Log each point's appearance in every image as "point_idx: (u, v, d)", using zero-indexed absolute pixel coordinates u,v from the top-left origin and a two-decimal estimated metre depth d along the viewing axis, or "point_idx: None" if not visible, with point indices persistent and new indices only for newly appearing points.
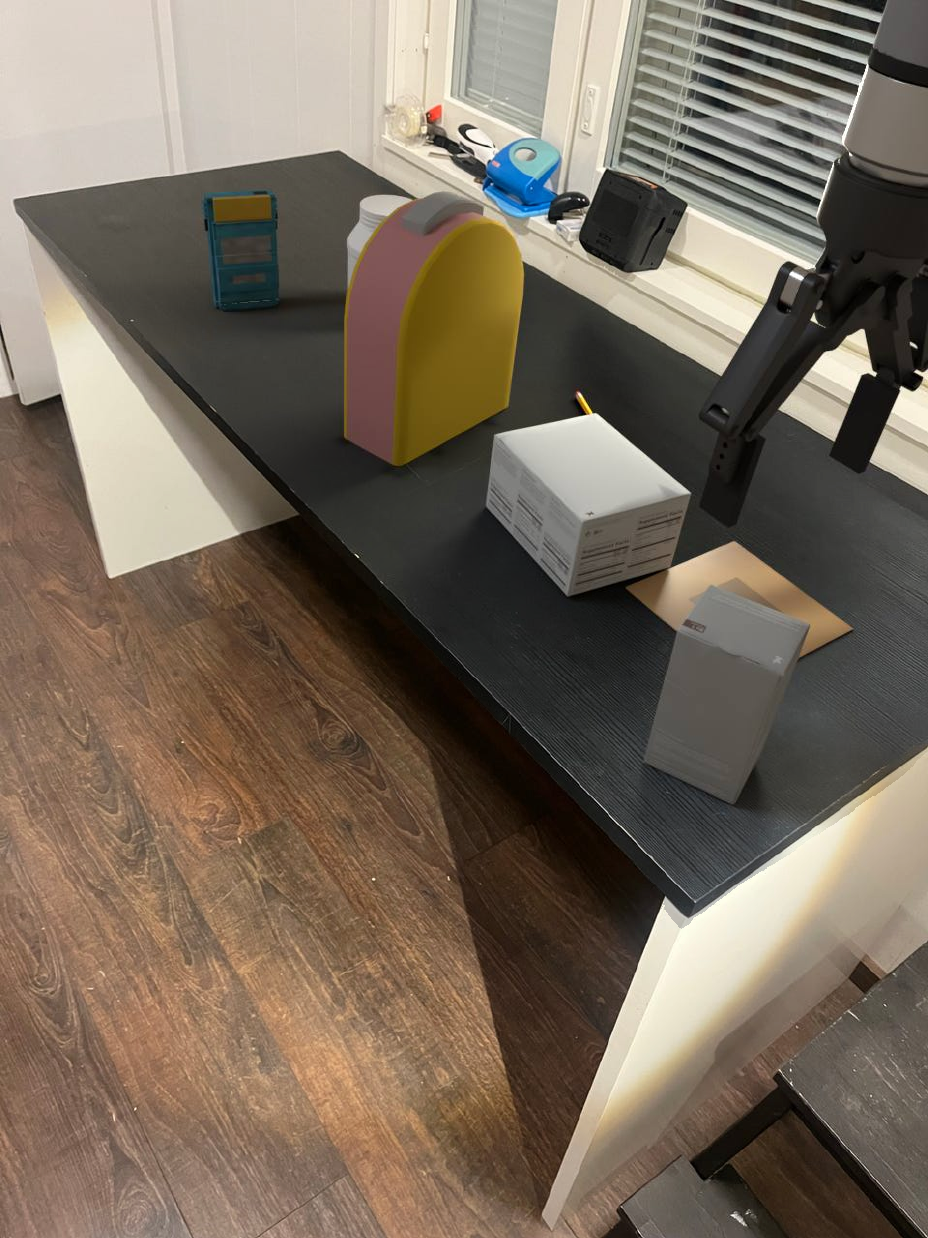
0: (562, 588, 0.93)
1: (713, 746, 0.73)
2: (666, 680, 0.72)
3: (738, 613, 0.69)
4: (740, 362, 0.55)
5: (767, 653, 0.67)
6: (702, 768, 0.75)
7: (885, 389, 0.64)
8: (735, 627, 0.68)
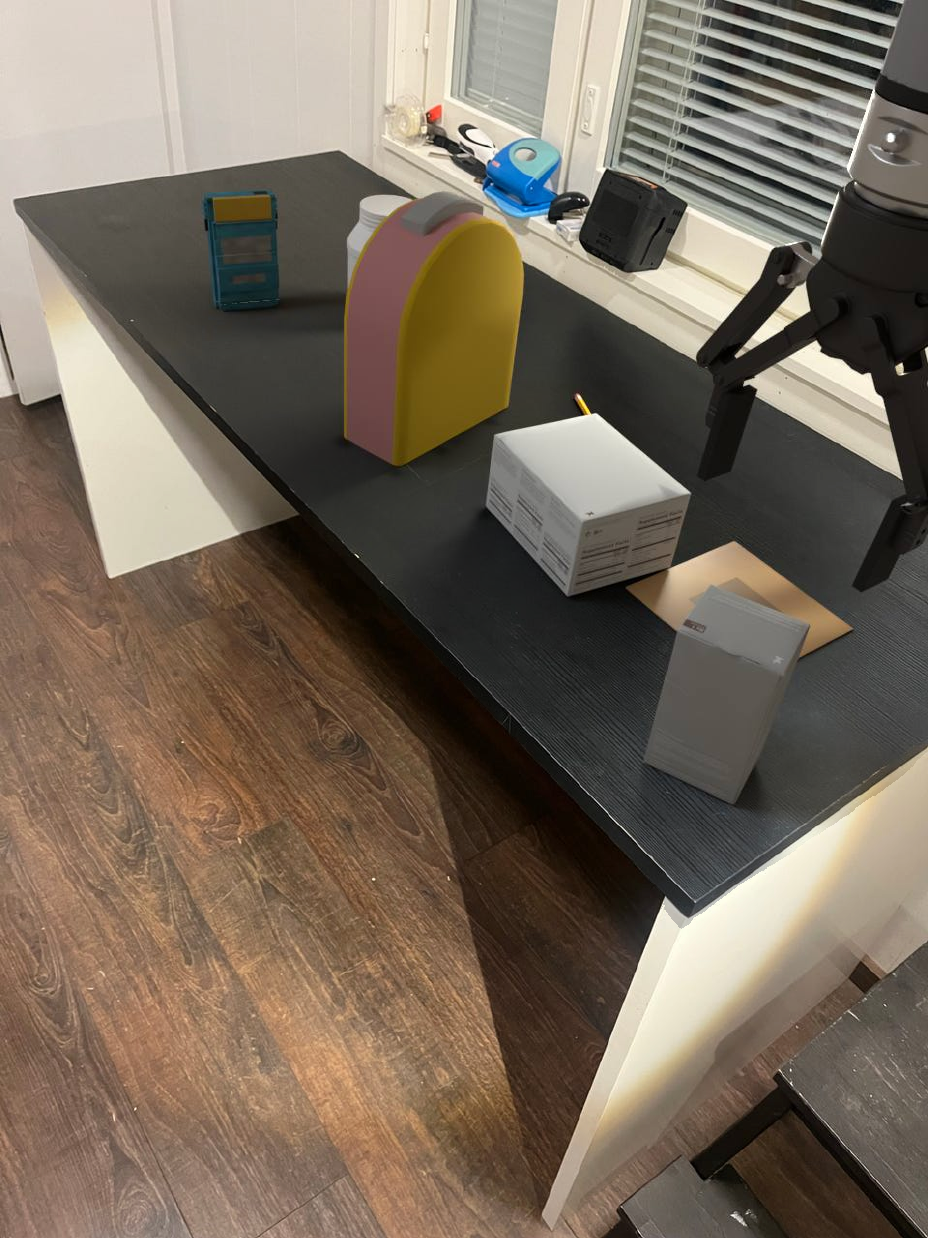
0: (562, 588, 0.93)
1: (713, 746, 0.73)
2: (666, 680, 0.72)
3: (738, 613, 0.69)
4: None
5: (767, 653, 0.67)
6: (702, 768, 0.75)
7: (750, 392, 0.63)
8: (736, 628, 0.68)
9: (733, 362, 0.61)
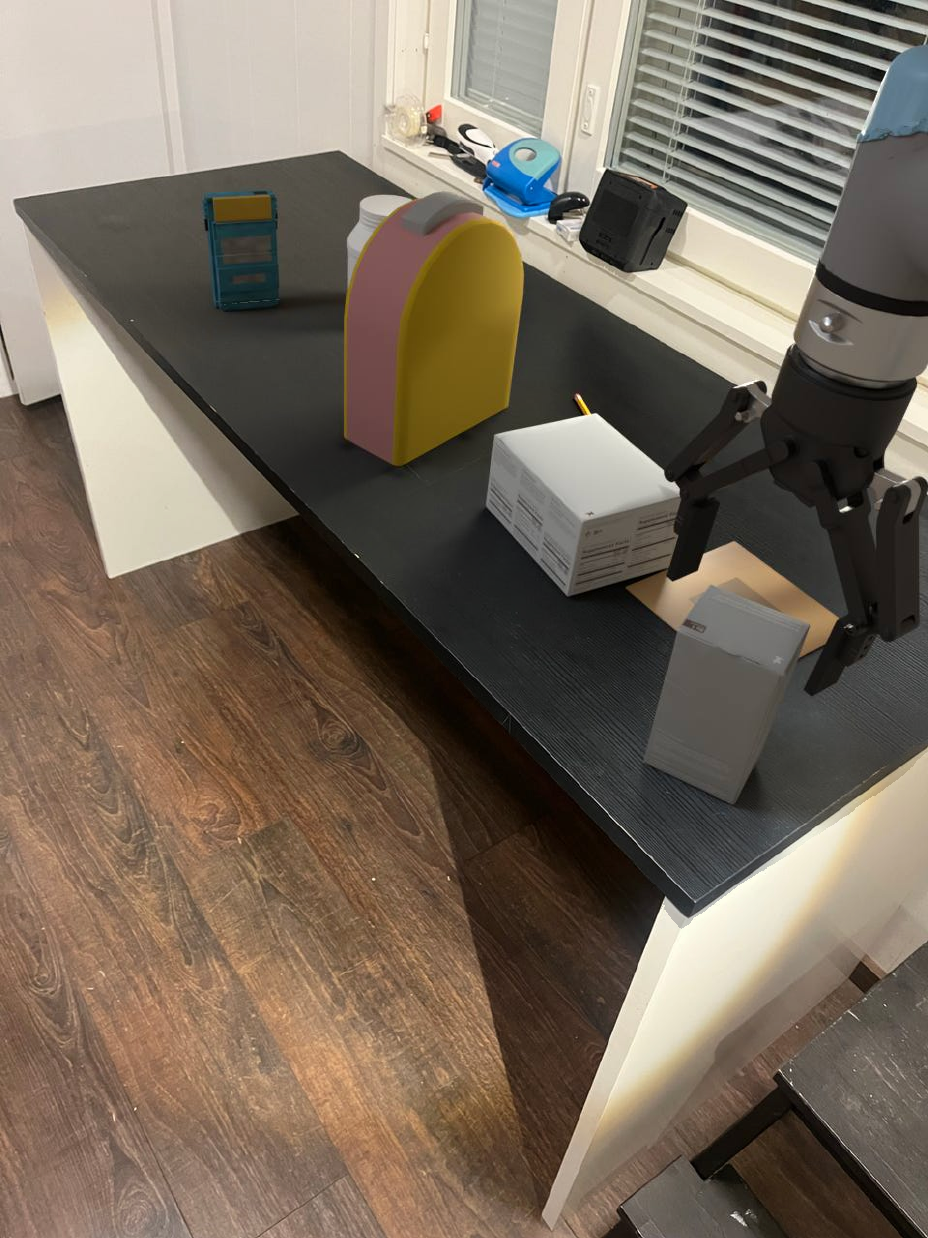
0: (562, 588, 0.93)
1: (713, 746, 0.73)
2: (666, 680, 0.72)
3: (738, 613, 0.69)
4: (901, 579, 0.56)
5: (767, 653, 0.67)
6: (702, 768, 0.75)
7: (714, 505, 0.69)
8: (736, 628, 0.68)
9: (697, 481, 0.67)
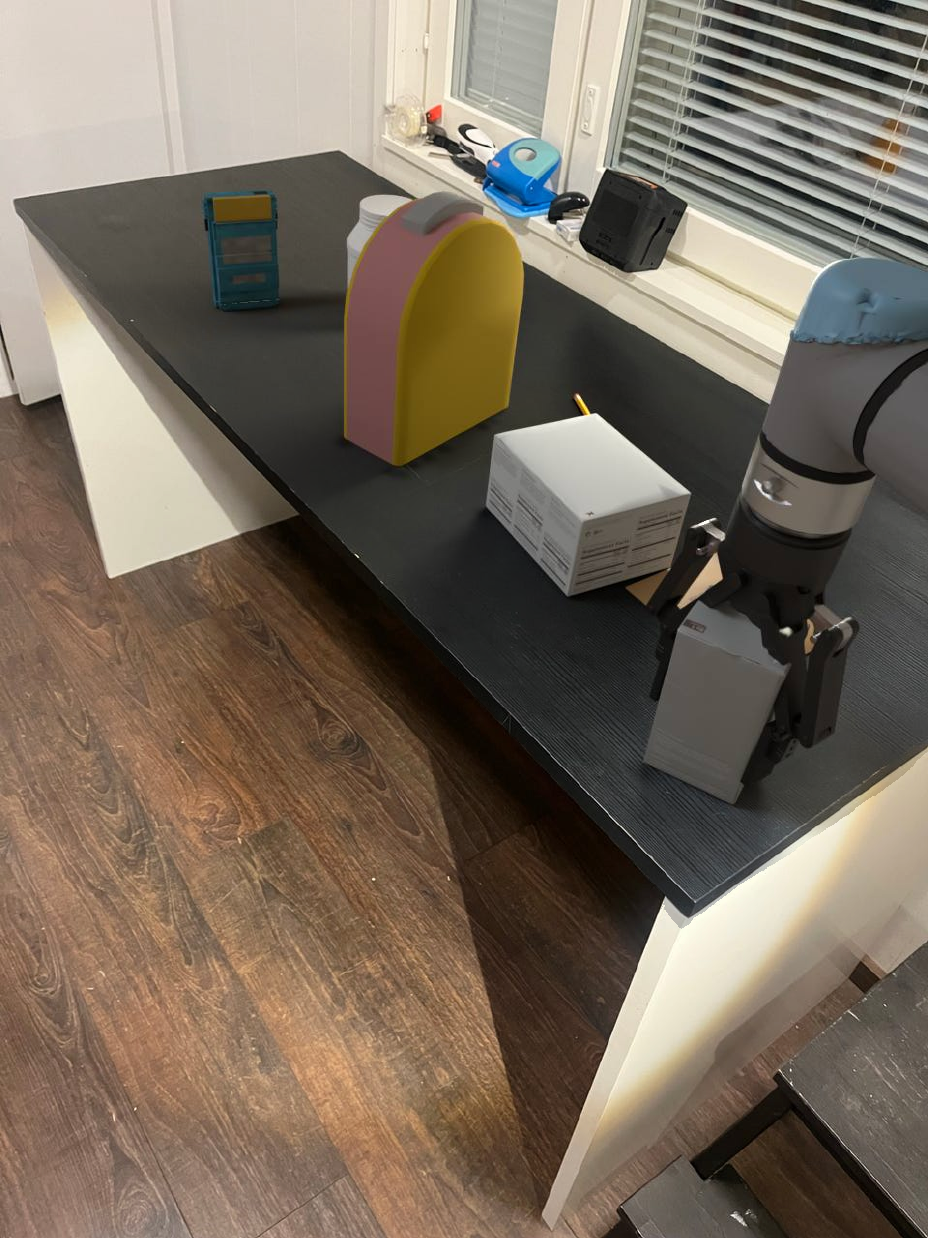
0: (562, 588, 0.93)
1: (712, 746, 0.73)
2: (666, 680, 0.72)
3: (738, 613, 0.69)
4: (824, 701, 0.65)
5: (767, 653, 0.67)
6: (702, 768, 0.75)
7: None
8: (735, 627, 0.68)
9: (673, 616, 0.74)
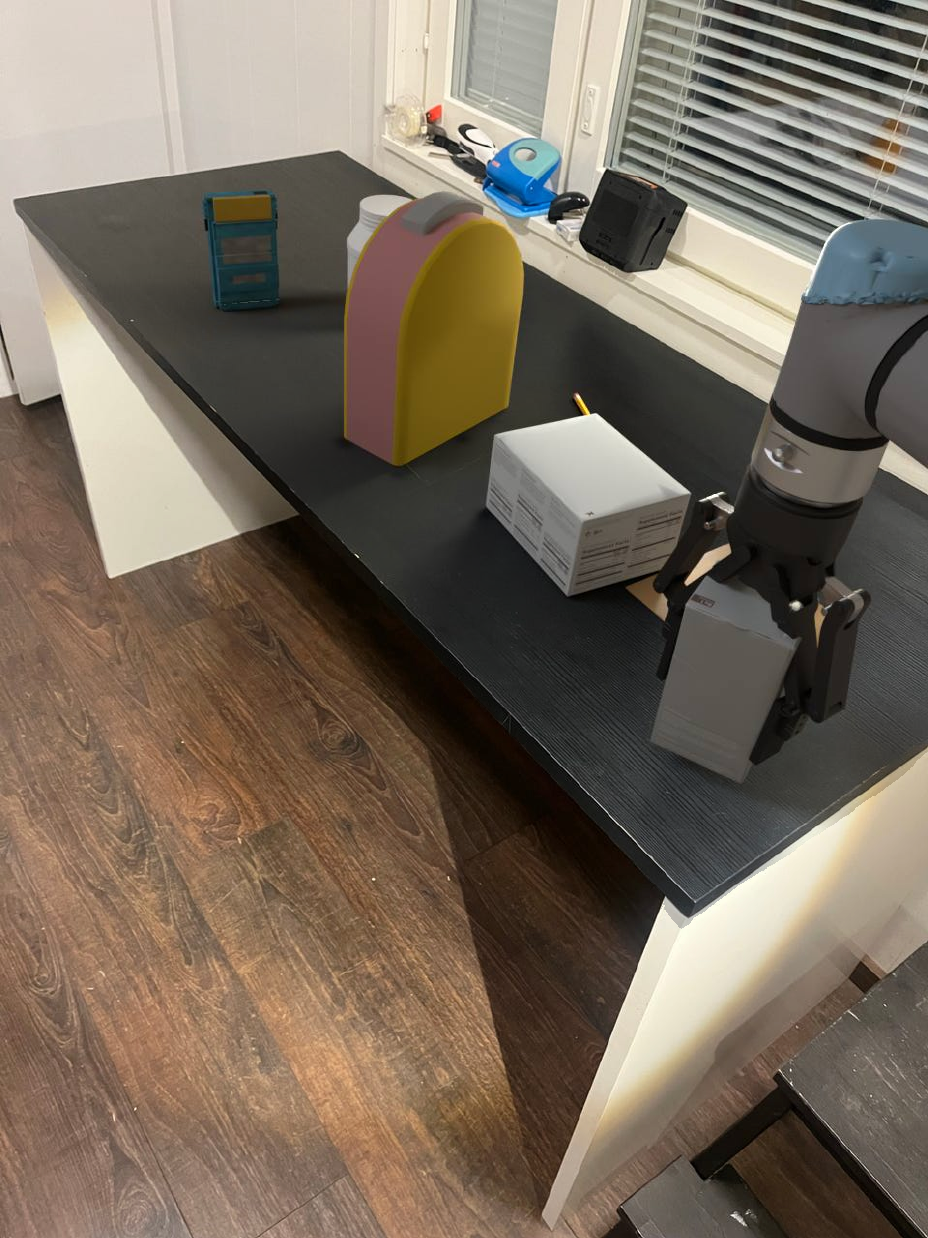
0: (562, 588, 0.93)
1: (721, 724, 0.72)
2: (674, 657, 0.71)
3: (747, 588, 0.69)
4: (835, 674, 0.64)
5: (777, 627, 0.66)
6: (710, 747, 0.74)
7: None
8: (744, 602, 0.68)
9: (680, 592, 0.73)
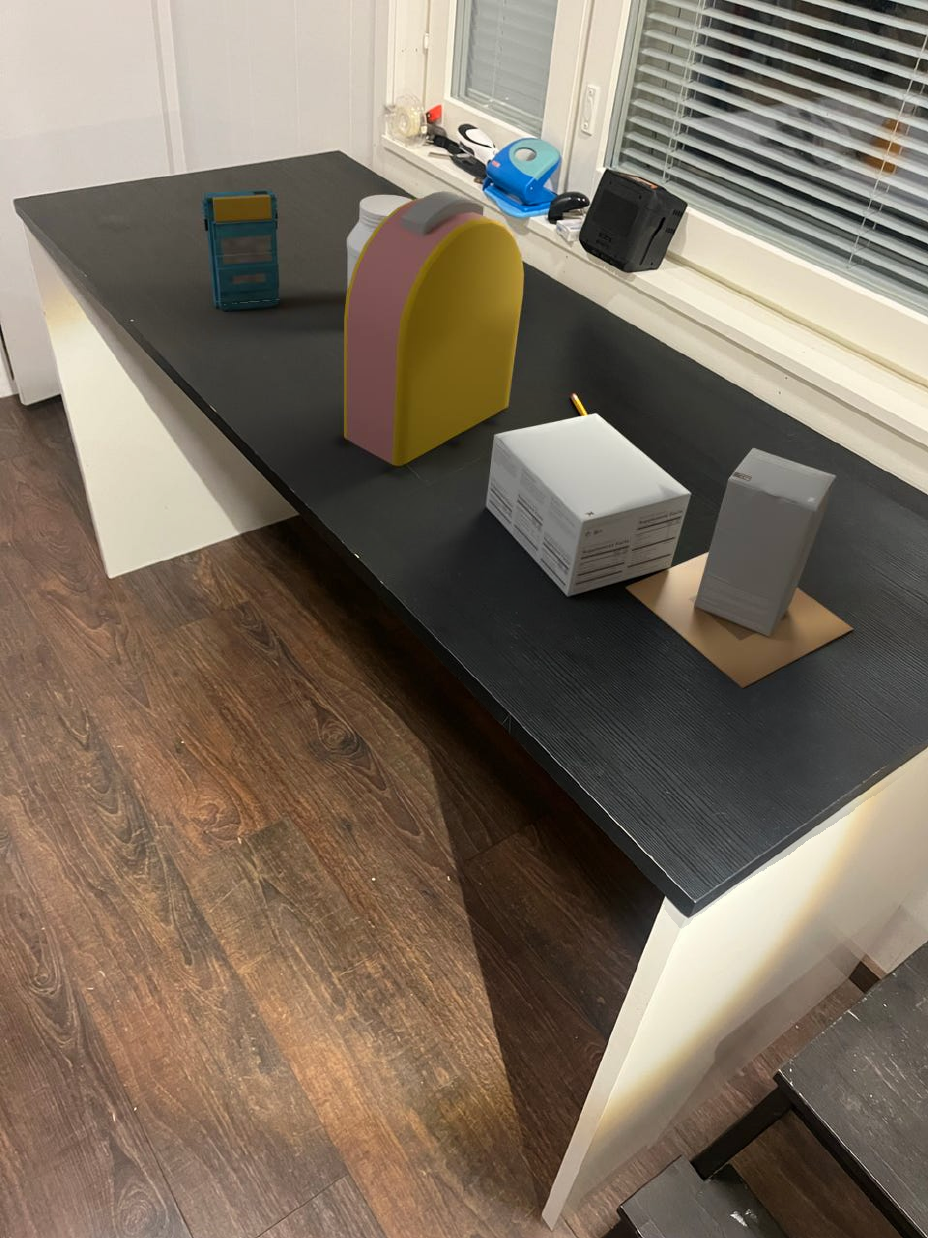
0: (562, 588, 0.93)
1: (755, 583, 0.88)
2: (717, 526, 0.87)
3: (777, 468, 0.85)
4: None
5: (802, 495, 0.82)
6: (745, 605, 0.90)
7: None
8: (776, 477, 0.84)
9: None
